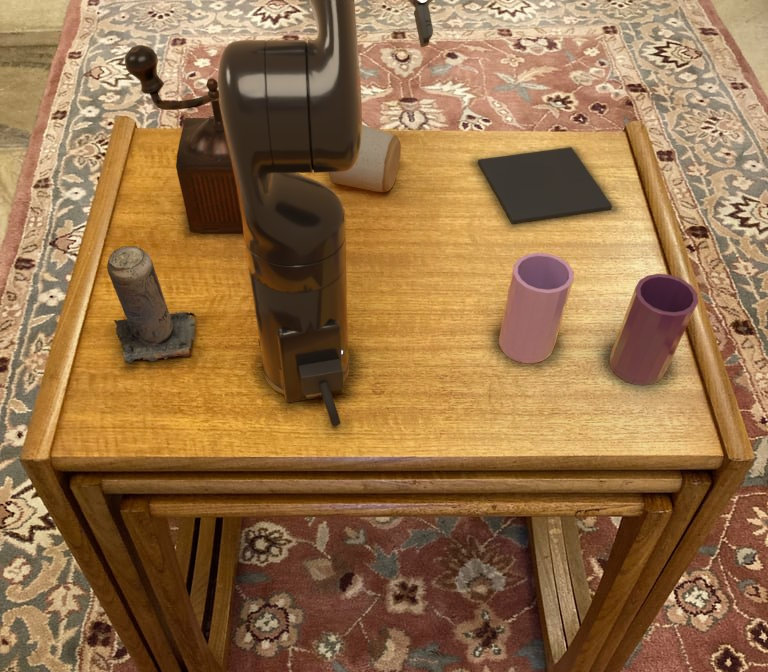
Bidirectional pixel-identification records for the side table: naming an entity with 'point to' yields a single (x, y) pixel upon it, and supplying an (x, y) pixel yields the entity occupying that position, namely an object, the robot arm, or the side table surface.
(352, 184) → the ceramic mug
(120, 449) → the side table surface
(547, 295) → the lilac cup
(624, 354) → the plum cup
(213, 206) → the manual coffee grinder
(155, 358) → the grey post on base
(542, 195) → the placemat
